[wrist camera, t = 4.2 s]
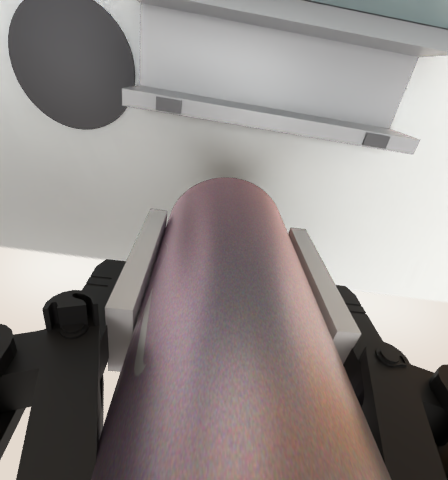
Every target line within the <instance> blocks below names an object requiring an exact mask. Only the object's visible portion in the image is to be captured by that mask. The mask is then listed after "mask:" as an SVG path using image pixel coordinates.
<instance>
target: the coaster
mask: <svg viewBox="0 0 448 480" xmlns="http://www.w3.org/2000/svg"><path fill="white" fill-rule="evenodd" d="M8 47H9V56H10V60H11V64H12V67H13V70H14V73H15V75H16V77H17V80H18V82H19V84H20V85H21V87H22V89H23V90H24V92H25V93H26V95H27V96H28V97H29V99H30V100H31V101H32V102H33V103H34V104H35V105H36V106H37V107H38V108H39V109H40V110H41V111H42V112H43V113H45V114H46V115H47V116H48V117H50V118H52V119H53V120H55V121H57V122H59V123H61V124H63V125H66V126H69V127H72V128H76V129H95V128H100V127H103V126H105V125H107V124H109V123H111V122H113V121H114V120H116V119H117V118H118V117H119V116H120V115H121V114H122V113H123V112H124V110H125V109H126V107H127V106H122V88H127V87H132V86H134V82H135V68H134V62H133V57H132V53H131V49H130V47H129V44H128V42H127V39H126V38H125V36H124V34H123V32H122V30H121V29H120V27H119V26H118V24H117V23H116V21H115V20H114V19H113V18H112V16H111V15H110V14H109V13H108V12H107V11H106V10H105V9H104V8H103V7H101V6H100V5H99V4H98V3H96V2H95V1H93V0H24V1H23V2H22V3H21V4H20V5H19V7H18V8H17V9H16V11H15V13H14V15H13V17H12V20H11V24H10V27H9V35H8Z"/></svg>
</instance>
